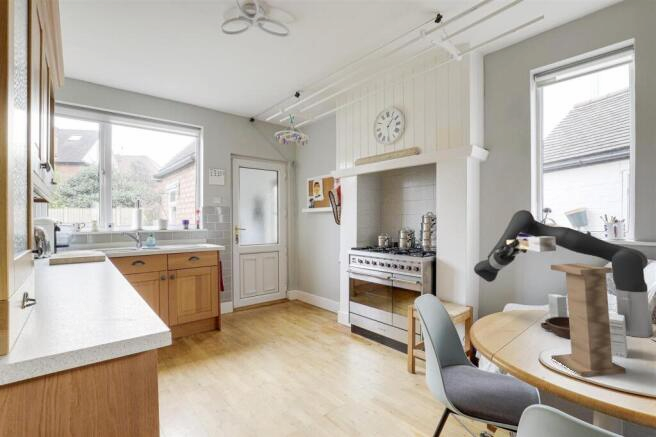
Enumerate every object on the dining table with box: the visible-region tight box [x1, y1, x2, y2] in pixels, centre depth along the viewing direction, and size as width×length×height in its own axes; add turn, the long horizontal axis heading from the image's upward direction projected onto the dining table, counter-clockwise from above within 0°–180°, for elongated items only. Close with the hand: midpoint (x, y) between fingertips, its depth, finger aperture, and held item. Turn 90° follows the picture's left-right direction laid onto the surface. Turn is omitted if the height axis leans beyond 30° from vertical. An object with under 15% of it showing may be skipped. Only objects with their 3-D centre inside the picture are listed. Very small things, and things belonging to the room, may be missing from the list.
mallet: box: [507, 236, 557, 253], centre depth 127 cm, size 6×22×5 cm, turn 3°
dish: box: [540, 316, 570, 339], centre depth 130 cm, size 18×22×5 cm
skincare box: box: [548, 293, 568, 318], centre depth 145 cm, size 6×4×12 cm
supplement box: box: [609, 313, 628, 359], centre depth 112 cm, size 7×7×13 cm
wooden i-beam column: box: [550, 262, 626, 377], centre depth 103 cm, size 14×12×32 cm
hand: (522, 241), depth 130 cm, fingers closed on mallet, 3 cm apart
